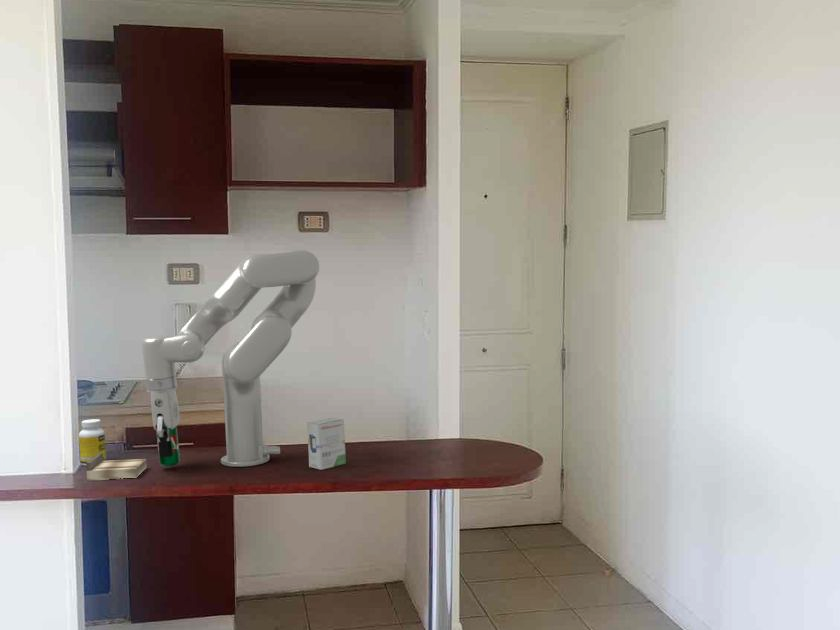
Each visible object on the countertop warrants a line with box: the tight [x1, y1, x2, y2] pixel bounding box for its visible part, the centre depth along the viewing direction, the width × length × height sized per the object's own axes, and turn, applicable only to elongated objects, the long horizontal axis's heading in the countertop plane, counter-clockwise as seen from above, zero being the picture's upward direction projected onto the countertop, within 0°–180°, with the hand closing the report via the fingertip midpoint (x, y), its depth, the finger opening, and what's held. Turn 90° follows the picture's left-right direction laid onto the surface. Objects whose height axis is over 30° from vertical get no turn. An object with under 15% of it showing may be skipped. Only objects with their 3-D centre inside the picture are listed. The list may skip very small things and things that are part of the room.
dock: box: [86, 453, 148, 482], centre depth 222 cm, size 12×10×4 cm
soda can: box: [155, 426, 181, 467], centre depth 226 cm, size 5×5×12 cm
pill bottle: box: [78, 418, 107, 466], centre depth 234 cm, size 6×6×12 cm
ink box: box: [306, 417, 347, 471], centre depth 225 cm, size 9×5×12 cm, turn 134°
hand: (168, 453), depth 226 cm, fingers closed on soda can, 5 cm apart
